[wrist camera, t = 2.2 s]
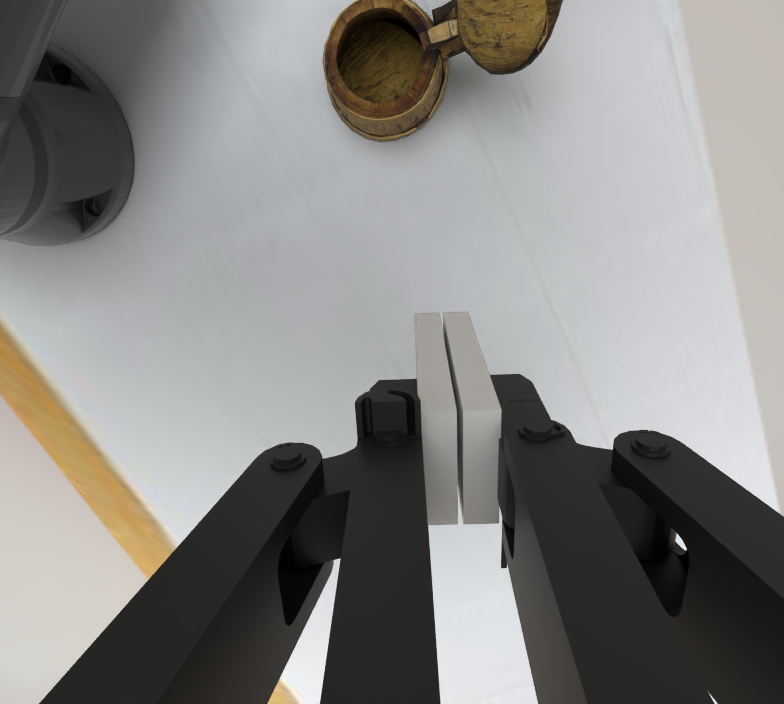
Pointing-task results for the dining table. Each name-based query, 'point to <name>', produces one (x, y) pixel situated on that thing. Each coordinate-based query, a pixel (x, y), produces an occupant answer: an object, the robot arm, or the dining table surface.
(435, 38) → the wooden mug
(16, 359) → the dining table surface
